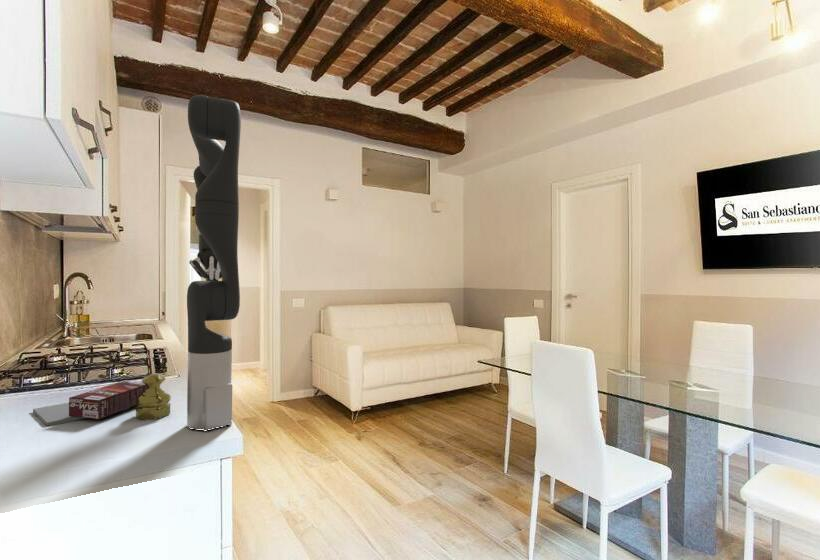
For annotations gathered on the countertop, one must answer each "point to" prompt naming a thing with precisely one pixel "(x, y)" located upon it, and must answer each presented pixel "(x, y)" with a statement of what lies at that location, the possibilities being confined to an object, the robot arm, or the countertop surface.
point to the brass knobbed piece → (153, 399)
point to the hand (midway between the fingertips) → (212, 292)
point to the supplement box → (106, 400)
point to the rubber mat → (55, 414)
